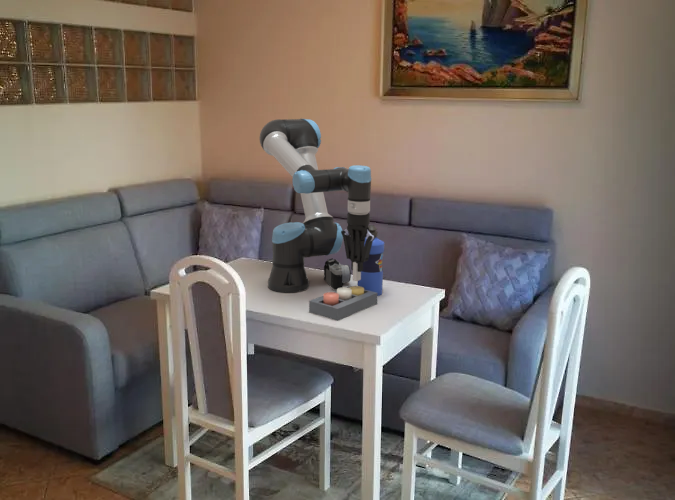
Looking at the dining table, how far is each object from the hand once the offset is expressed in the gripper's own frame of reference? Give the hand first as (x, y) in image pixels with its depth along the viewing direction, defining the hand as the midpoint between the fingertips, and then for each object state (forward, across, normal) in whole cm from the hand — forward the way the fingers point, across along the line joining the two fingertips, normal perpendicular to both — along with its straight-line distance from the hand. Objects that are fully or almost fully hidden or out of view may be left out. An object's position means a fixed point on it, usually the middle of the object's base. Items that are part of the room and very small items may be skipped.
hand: (356, 280), depth 230 cm
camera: (+9, -18, +12) cm, 23 cm away
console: (+8, 0, -7) cm, 11 cm away
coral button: (+5, 0, -14) cm, 15 cm away
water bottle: (+9, -3, +12) cm, 15 cm away
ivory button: (+5, 0, -7) cm, 9 cm away
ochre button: (+6, 0, 0) cm, 6 cm away
